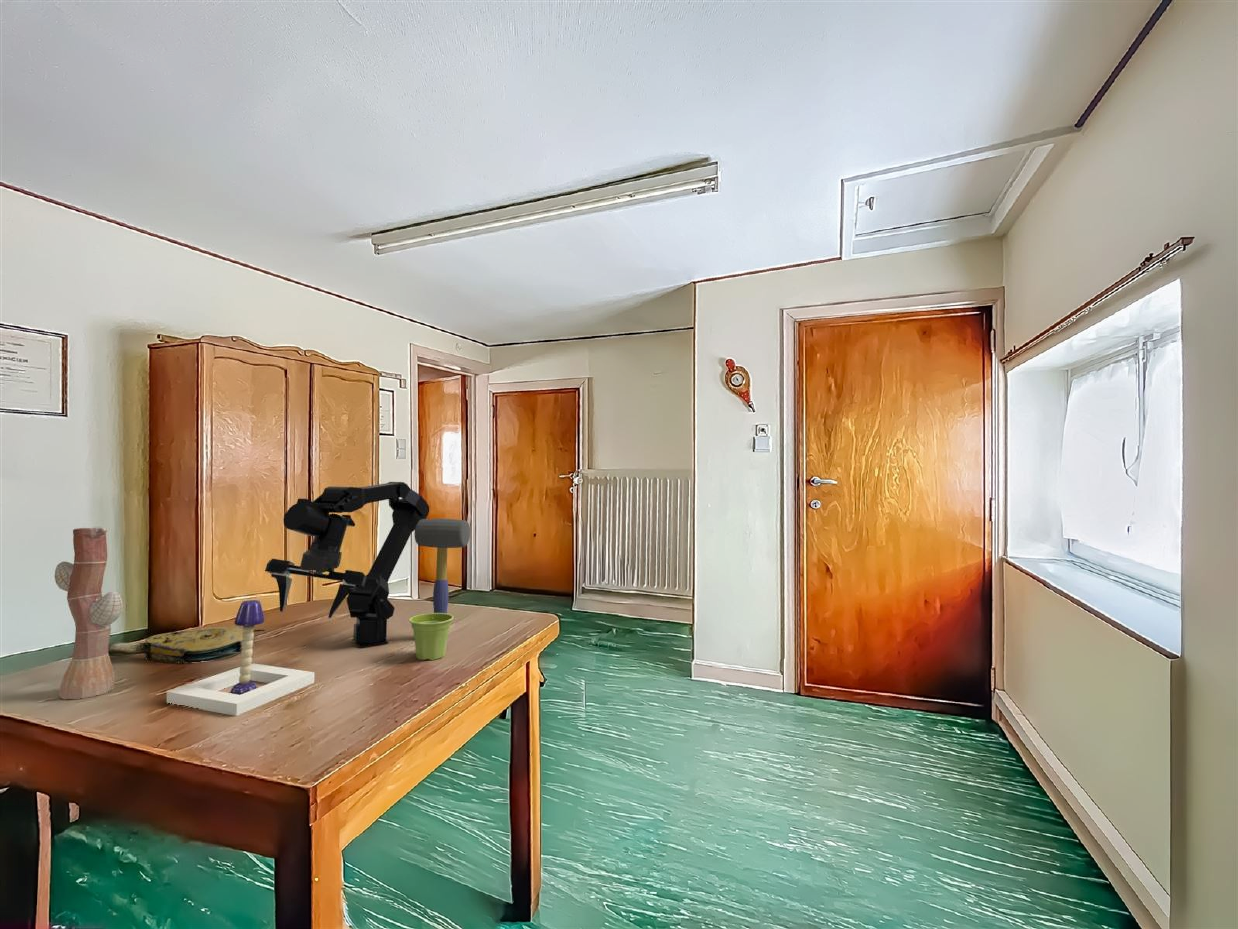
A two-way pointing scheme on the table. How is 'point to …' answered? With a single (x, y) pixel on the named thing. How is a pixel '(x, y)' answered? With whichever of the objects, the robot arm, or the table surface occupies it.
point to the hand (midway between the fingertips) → (305, 614)
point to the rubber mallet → (442, 550)
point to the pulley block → (186, 645)
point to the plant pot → (431, 634)
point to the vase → (88, 615)
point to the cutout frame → (211, 699)
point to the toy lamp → (247, 642)
